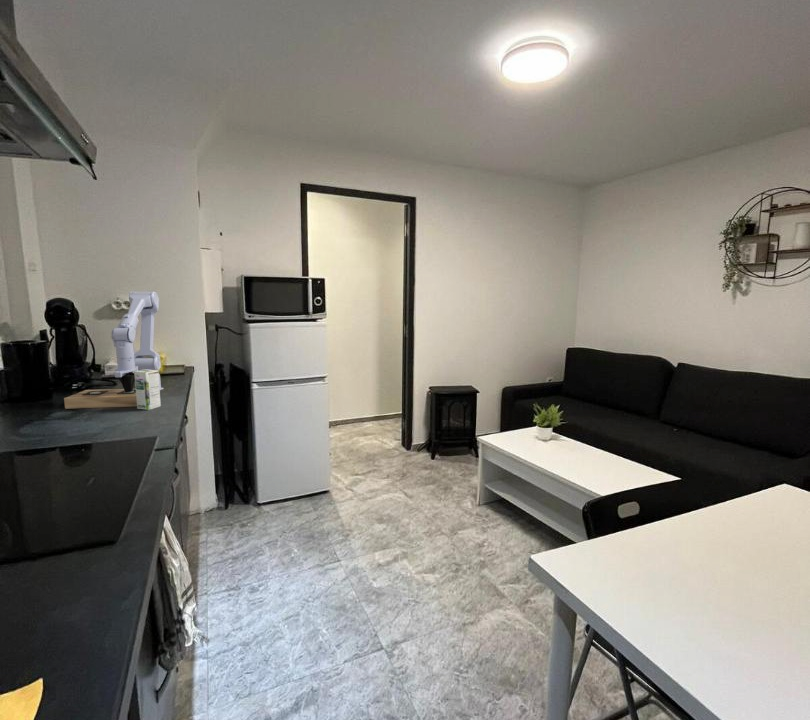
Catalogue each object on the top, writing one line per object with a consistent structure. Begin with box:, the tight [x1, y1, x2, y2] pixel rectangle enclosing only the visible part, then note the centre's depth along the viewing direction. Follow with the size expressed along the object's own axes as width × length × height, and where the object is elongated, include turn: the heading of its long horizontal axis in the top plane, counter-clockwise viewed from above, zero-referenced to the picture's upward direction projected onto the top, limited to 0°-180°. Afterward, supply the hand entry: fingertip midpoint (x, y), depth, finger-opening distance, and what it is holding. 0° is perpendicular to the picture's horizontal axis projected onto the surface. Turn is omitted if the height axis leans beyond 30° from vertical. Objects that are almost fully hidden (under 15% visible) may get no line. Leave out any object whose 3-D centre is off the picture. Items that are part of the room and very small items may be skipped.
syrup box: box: [133, 369, 162, 411], centre depth 155 cm, size 6×6×14 cm
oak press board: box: [63, 388, 137, 410], centre depth 163 cm, size 14×26×4 cm, turn 100°
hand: (128, 391), depth 163 cm, fingers closed, pressing on teal peg
